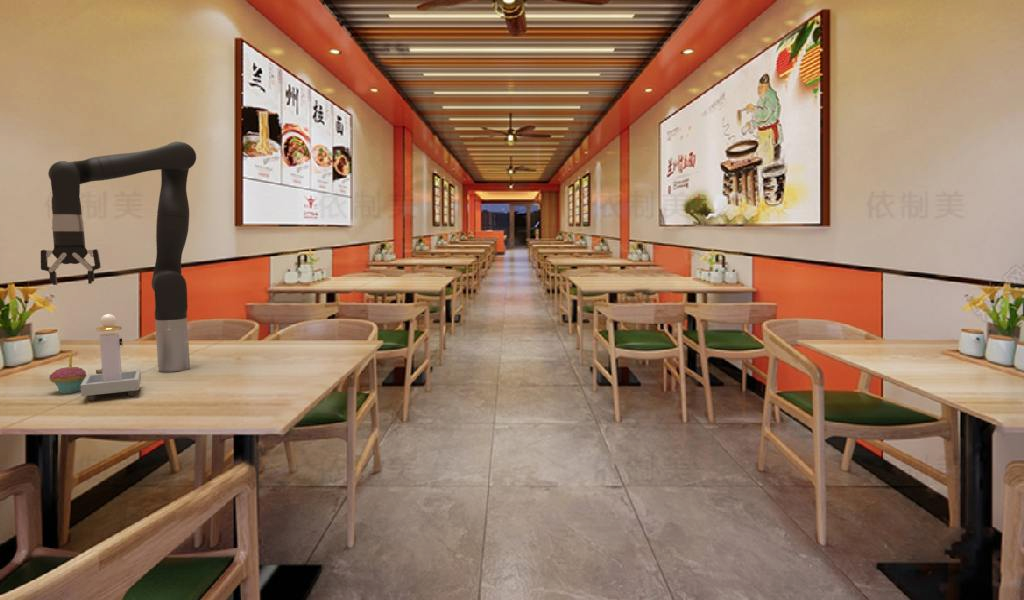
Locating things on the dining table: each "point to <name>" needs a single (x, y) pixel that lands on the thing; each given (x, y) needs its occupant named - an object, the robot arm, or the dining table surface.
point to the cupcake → (68, 378)
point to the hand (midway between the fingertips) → (72, 284)
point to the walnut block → (99, 371)
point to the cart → (110, 384)
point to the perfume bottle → (110, 349)
